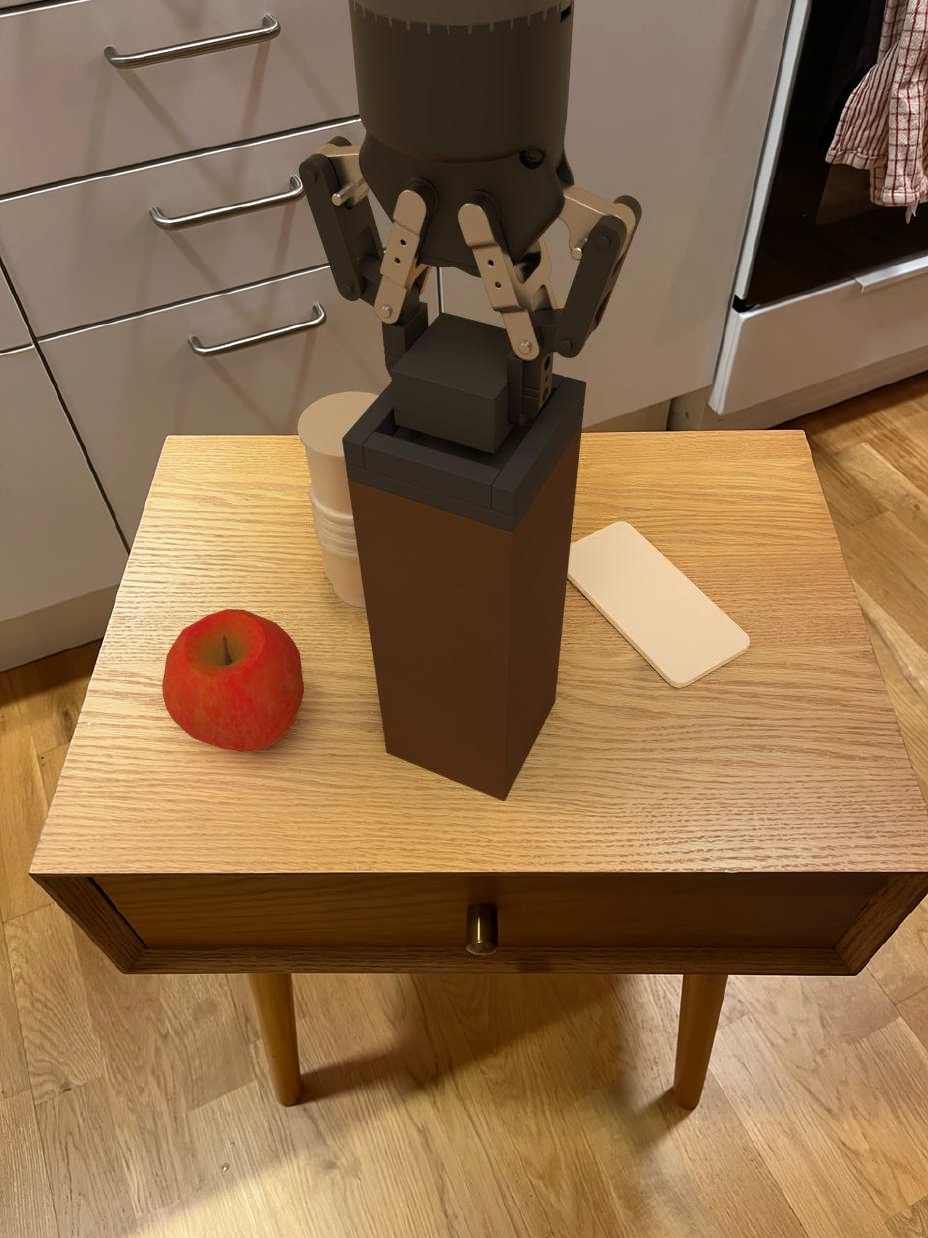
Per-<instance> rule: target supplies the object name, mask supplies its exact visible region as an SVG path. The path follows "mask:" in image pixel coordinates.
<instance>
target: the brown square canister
mask: <svg viewBox="0 0 928 1238" xmlns="http://www.w3.org/2000/svg"><path fill="white" fill-rule="evenodd" d="M551 382H552V385H551V393H550V395H549V396H548V398H547V400H546V401H545V403H544V404H543V406H542V407H541V409H540V410H539V412H538V413H537V415H536V416H535V417H534V418H533V417H529V418H528V420H527V421H526V423H525V424H524V425H523V426H522V427H521V426H518V425H515V424H514V426H513V427H512V429H511V430H510V432H509V433H508V434H507V436H506V437H505V439H504V440H503V441H502V443H501V444H500V446H499V447H498V449H497V450H496V451H495V453H494V454H492V453H489V452H486V451H482V450H479V449H476V448H472V447H469V446H466V445H462V444H459V443H456V442H452V441H449V440H446V439H442V438H439V437H436V436H432V435H429V434H426V433H422V432H419V431H416V430H412V429H409V428H406V427H403V426H399V425H396V424H395V415H394V403H393V391H392V380H391V381H390V382H389V383H388V384H387V386H386V387H385V388H384V389H383V390H382V392H381V393H380V394H378V397H377V399H376V400H375V401H374V402H373V403H372V404H371V405H370V407H369V408H368V409H367V410H366V411H365V412H364V414H363V415H362V416H361V417H360V418H359V419H358V420H357V422H356V423H355V424H354V425H353V426H352V427H351V428H350V430H349V431H348V432H347V433H346V434H345V435H344V437H343V438H342V443H343V450H344V457H345V463H346V471H347V478H348V486H349V493H350V500H351V507H352V514H353V521H354V528H355V535H356V542H357V549H358V556H359V563H360V570H361V577H362V584H363V591H364V598H365V605H366V608H365V610H366V612H365V613H366V618H367V619H366V620H367V625H368V632H369V639H370V646H371V654H372V661H373V668H374V674H375V681H376V688H377V695H378V696H377V697H378V702H379V709H380V710H379V711H380V716H381V722H382V724H381V725H382V730H383V737H384V744H385V751H386V754H388V755H391V756H394V757H396V758H398V759H401V760H403V761H406V762H407V763H410V764H413V765H415V766H417V767H420V768H422V769H426V770H427V771H430V772H432V773H434V774H437V775H439V776H442V777H444V778H447V779H449V780H451V781H454V782H456V783H458V784H460V785H463V786H466V787H469V788H471V789H472V790H476V791H478V792H481V793H483V794H485V795H488V796H490V797H492V798H495V799H497V800H500V801H502V802H506V799H507V798H508V795H509V793H510V792H511V789H512V788H513V785H514V783H515V782H516V779H517V778H518V776H519V774H520V772H521V769H522V768H523V766H524V764H525V763H526V760H527V758H528V756H529V754H530V752H531V751H532V748H533V746H534V744H535V743H536V741H537V739H538V737H539V735H540V732H541V731H542V729H543V727H544V725H545V724H546V721H547V719H548V717H549V715H550V714H551V711H552V709H553V707H554V705H555V704H556V697H557V687H558V677H559V668H560V667H559V666H560V657H561V656H560V655H561V646H562V636H563V634H562V633H563V625H564V617H565V616H564V615H565V605H566V597H567V596H566V594H567V586H568V585H567V584H568V578H567V576H568V566H569V556H570V545H571V544H572V533H573V523H574V514H575V505H576V493H577V484H578V473H579V464H580V463H579V462H580V453H581V444H582V442H581V441H582V433H583V432H582V431H583V423H584V413H585V412H584V411H585V409H584V407H585V402H586V390H587V382H586V381H584V380H580V379H577V378H573V377H570V376H564V375H561V374H557V373H553V372H552V381H551Z"/></svg>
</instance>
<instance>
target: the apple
mask: <svg viewBox="0 0 928 1238" xmlns="http://www.w3.org/2000/svg"><path fill="white" fill-rule="evenodd" d="M163 671H164V673H163V677H162V684H161V691H162V698H163V702H164V706H165V710H166V711H167V713H168V715H169V716H170V718H171V720H172V721H173V722H174V723H176V725H177V726H178V727H179V728H180V729H181V730H182V731H184V732H185V733H186V734H188V735H189V736H190V737H191V738H192V739H195V740H197V741H199V742H201V743H203V744H207V745H210V746H213V747H215V748H218V749H223V750H227V751H231V752H232V751H233V752H239V753H240V752H241V753H247V752H255V751H259V750H260V751H261V750H264V749H266V748H269V747H271V746H273V745H274V744H275V743H277V742H278V741H279V740H280V739H281V738H283V737H284V736H285V734H287V732H288V731H289V729H290V727H291V726H292V725H293V723H294V721H295V719H296V717H297V715H298V713H299V711H300V708H301V706H302V702H303V698H304V694H305V686H304V677H303V667H302V660H301V652H300V651H299V648H298V646H297V645H296V643H295V641H294V640H293V638H292V637H291V636H290V634H289V633H288V632H287V631H285V629H283V628H282V626H280V624H278V623H277V622H274V621H272V620H270V619H268V618H265V617H263V616H261V615H259V614H256V613H253V612H251V611H248V610H246V609H241V608H239V609H238V608H225V609H223V610H220V611H216V612H212V613H209V614H207V615H206V616H204V617H202V618H200V619H199V620H197V621H195V622H193V623H192V624H190V625H188V626H186V627H184V628H183V629H182V630H181V631H180V633H179V634H178V636H177V638H176V639H175V640H174V641H173V643H172V645H171V647H170V648H169V651H168V652H167V654H166V657H165V664H164V670H163Z"/></svg>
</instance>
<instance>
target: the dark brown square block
mask: <svg viewBox="0 0 928 1238" xmlns="http://www.w3.org/2000/svg"><path fill="white" fill-rule="evenodd" d="M512 350H513V348H512V345H511V342H510V339H509V336H508V333H507V330H506V327H501V326H498V325H494V324H490V323H486V322H483V321H478V320H474V319H470V318H466V317H462V316H459V315H455V314H452V313H447V312H443V311H441V312H440V313H439V314H438V315H437V316H436V318H435V319H434V320H433V321H432V322H431V323H430V324H429V328H428V329H427V330H426V331H425V332H424V333H423V334H422V336H421V337H420V338H419V339H418V340H417V341H416V342H415V343H414V345H413V346H412V347H411V348H410V349H409V350H408V351H407V353H405V354H404V355H403V356H402V358H401V359H400V360H399V361H398V362H397V363H396V364H395V365H394V367H393V368H392V369H391V377H390V379H391V381H392V391H393V403H394V415H395V424H396V425H399V426H403V427H406V428H409V429H412V430H416V431H419V432H422V433H426V434H429V435H432V436H436V437H439V438H442V439H446V440H449V441H452V442H456V443H459V444H462V445H466V446H469V447H472V448H476V449H479V450H482V451H486V452H489V453H492V454H494V453H495V451H496V450H497V449H498V447H499V446H500V444H501V443H502V441H503V440H504V439H505V437H506V436H507V434H508V433H509V432H510V430H511V429H512V427H513V426H514V424H511V423H508V421H507V405H508V381H507V356H508V355H509V353H510V352H511V351H512Z"/></svg>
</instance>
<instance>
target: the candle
mask: <svg viewBox="0 0 928 1238" xmlns="http://www.w3.org/2000/svg"><path fill="white" fill-rule="evenodd" d="M378 396H379V394H376V393H373V392H365V391H356V390H355V391H343V392H336V393H332V394H329V395H326V396H324V397H321V398H320V399H317V400H316V401H314V402H313V403H312V402H311V404H309V406H307V407H306V408H305V410H303V412H302V413H301V414H300V417H299V418H298V422H297V434H298V437H299V440H300V442H301V444H302V445H303V447H304V449H305V450H304V451H305V455H306V460H307V461H306V462H307V465H308V471H309V477H310V483H309V488H308V497H309V502H310V507H311V508H310V509H311V512H312V518H313V524H314V527H315V528H314V530H315V534H316V539H317V542H318V543H319V545H320V546H321V559H322V568H323V572H324V574H325V576H326V578H327V579H328V581H329V582H330V583H331V585H332V591H333V592H334V593H335V595H336V597H338V599H339V600H341V601H342V602H343V603H345V604H347V605H349V606H352V607H357V608H362V609H366V605H365V598H364V591H363V584H362V577H361V570H360V563H359V556H358V549H357V542H356V535H355V528H354V521H353V514H352V507H351V500H350V493H349V486H348V478H347V471H346V463H345V457H344V450H343V443H342V438H343V437H344V435H345V434H346V433H347V432H348V431H349V430H350V428H351V427H352V426H353V425H354V424H355V423H356V422H357V420H358V419H359V418H360V417H361V416H362V415H363V414H364V412H365V411H366V410H367V409H368V408H369V407H370V405H371V404H372V403H373V402H374V401H375V400H376V399H377V397H378Z"/></svg>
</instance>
